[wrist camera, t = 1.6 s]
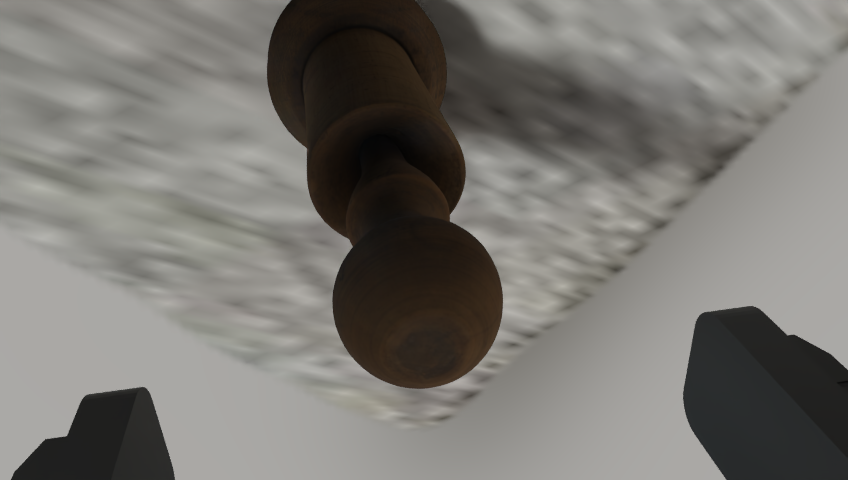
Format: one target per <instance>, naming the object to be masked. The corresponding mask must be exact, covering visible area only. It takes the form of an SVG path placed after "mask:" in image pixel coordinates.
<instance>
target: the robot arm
mask: <svg viewBox="0 0 848 480" xmlns="http://www.w3.org/2000/svg"><path fill="white" fill-rule="evenodd" d="M683 400H684V408H685V412H686V416H687V419H688V422H689V424H690V427H691V429H692V431H693V432H694V434H695V435H696V437H697V438H698V439H699V441H700V443H701V444H702V445H703V447H704V448H705V450H706V451H707V452H708V454H709V455H710V457H711V458H712V460H713V461H714V463H715V464H716V465H717V467H718V468H719V470H720V471H721V472H722V474H723V475H724V477H725V478H726V480H848V370H847V369H846V368H845V367H844V366H843V365H842V364H840V363H839V362H838V361H837V360H836V359H835V358H834V357H833V356H832V355H831V354H829V353H827V352H826V351H824V350H822V349H820V348H818V347H816V346H814V345H813V344H810V343H809V342H807V341H805V340H803V339H801V338H800V337H798V336H796V335H788V336H787V335H786V334H785V333H784V332H783V331H782V330H781V329H780V328H779V327H778V326H777V325H776V324H775V323H774V322H773V321H772V320H771V319H770V318H769V317H768V316H766V315H765V314H764V313H763V312H762V311H761V310H760V309H758V308H756V307H753V306H747V307H741V308H733V309H726V310H718V311H711V312H704V313H702V314H701V315H700V316H699V317H698V319H697V321H696V324H695V329H694V335H693V340H692V347H691V352H690V357H689V363H688V368H687V374H686V380H685V385H684V392H683ZM11 480H175V477H174V471H173V467H172V463H171V460H170V456H169V453H168V450H167V447H166V444H165V441H164V437H163V433H162V430H161V427H160V424H159V420H158V417H157V414H156V411H155V407H154V404H153V401H152V398H151V395H150V393H149V391H148V390H147V389H146V388H145V387H140V388H132V389H125V390H118V391H111V392H103V393H96V394H89V395H86V396H85V397H84V398H83V399H82V401H81V403H80V405H79V408H78V410H77V413H76V415H75V418H74V420H73V423H72V425H71V428H70V430H69V433H68V435H67V436H66V437H59V438H52V439H45V441H43V442H42V443H41V444H40V446H39V447H38V448H37V449H36V450H35V451H34V452H33V453H32V454H31V455H30V456H29V457H28V458H27V459H26V460H25V462H24V463H23V464H22V465H21V466H20V467H19V468H18V469H17V470H16V471H15V472H14V474H13V477H12V479H11Z"/></svg>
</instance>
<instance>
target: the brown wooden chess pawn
mask: <svg viewBox="0 0 848 480" xmlns="http://www.w3.org/2000/svg"><path fill="white" fill-rule="evenodd" d="M267 80H268V87H269V92H270V96H271V100H272V103H273V105H274V108H275V110H276V112H277V114H278V116H279V118H280V119H281V121H282V123H283V124H284V126H285V127H286V128H287V130H288V131H289V132H290V133H291V134H292V135H293V136H294V137H295V138H296V140H298V141H299V142H300V143H301V144H302V145H303V146H305V147H306V148H307V182H308V189H309V194H310V197H311V200H312V202H313V205H314V207H315V209H316V210H317V212H318V213H319V215H320V216H321V218H322V219H323V220H324V221H325V222H326V223H327V224H328V225H329V226H330V227H331V228H332V229H334V230H335V231H337V232H338V233H339V234H341V235H342V236H344V237H346V238H348V239H349V240H350V242H351V244H352V246H353V248H352V249H351V250H350V252H349V253H348V254H347V256H346V258H345V259H344V261H343V263H342V265H341V267H340V269H339V272H338V274H337V277H336V281H335V285H334V290H333V314H334V320H335V325H336V328H337V331H338V333H339V336H340V338H341V340H342V342H343V344H344V346H345V348H346V349H347V351H348V352H349V354H350V355H351V356H352V357H353V359H354V360H355V361H356V362H357V363H358V364H359V365H360V366H361V367H363V368H364V369H365V370H366V371H367V372H369V373H370V374H372V375H373V376H375V377H377V378H378V379H380V380H382V381H385V382H387V383H390V384H393V385H396V386H400V387H405V388H415V389H423V388H432V387H437V386H441V385H445V384H447V383H450V382H453V381H455V380H457V379H459V378H460V377H462V376H464V375H465V374H467V373H468V372H469V371H471V370H472V369H473V368H474V367H475V366H476V365H477V364H478V363H479V362H480V361H481V360H482V359H483V358H484V356H485V355H486V354H487V352H488V351H489V349H490V348H491V346H492V344H493V342H494V340H495V338H496V335H497V333H498V330H499V327H500V323H501V318H502V309H503V294H502V287H501V282H500V278H499V275H498V272H497V269H496V267H495V265H494V262H493V260H492V259H491V257H490V255H489V254H488V252H487V251H486V249H485V248H484V246H483V245H482V244H481V243H480V242H479V241H478V240H477V239H476V238H475V237H474V236H473V235H471V234H470V233H469V232H468V231H466V230H464V229H463V228H461V227H459V226H458V225H456V224H454V223H451V222H450V214H451V213H452V211H453V210H454V209H455V207H456V205H457V203H458V202H459V200H460V197H461V195H462V192H463V188H464V184H465V176H466V170H465V161H464V156H463V153H462V150H461V147H460V145H459V143H458V141H457V139H456V137H455V135H454V134H453V132H452V130H451V129H450V127H449V126H448V124H447V122H446V121H445V119H444V117H443V115H442V114H441V112H440V110H439V109H440V106H441V103H442V100H443V97H444V93H445V88H446V80H447V68H446V58H445V53H444V49H443V46H442V43H441V40H440V37H439V35H438V33H437V31H436V29H435V27H434V25H433V24H432V22H431V21H430V19H429V18H428V16H427V15H426V14H425V13H424V11H423V10H422V9H421V7H420V6H419V5H418V4H417V3H416V2H415V0H291V1H290V3H289V4H288V5H287V6H286V8H285V9H284V10H283V12H282V13H281V15H280V17H279V19H278V20H277V23H276V25H275V27H274V30H273V32H272V36H271V40H270V44H269V51H268V63H267Z"/></svg>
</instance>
